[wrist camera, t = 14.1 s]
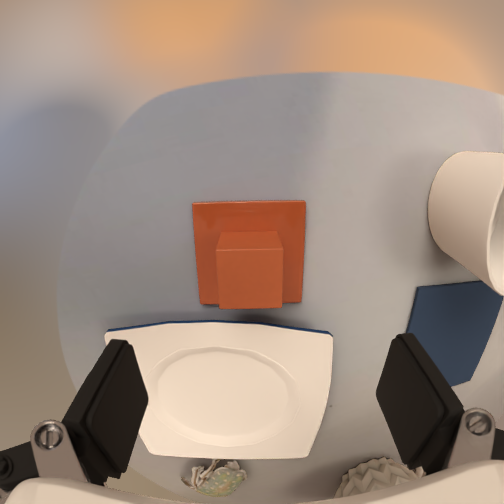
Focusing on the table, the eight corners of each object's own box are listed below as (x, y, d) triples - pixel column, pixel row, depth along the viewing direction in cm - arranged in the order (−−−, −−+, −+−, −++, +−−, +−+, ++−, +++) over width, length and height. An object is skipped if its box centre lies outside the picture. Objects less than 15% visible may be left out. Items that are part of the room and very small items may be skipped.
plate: (149, 440, 31) (145, 456, 28) (103, 306, 24) (91, 321, 21) (310, 443, 31) (313, 459, 28) (337, 306, 24) (346, 323, 22)
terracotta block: (220, 231, 21) (215, 249, 17) (277, 230, 21) (283, 248, 18) (223, 283, 23) (219, 309, 19) (276, 281, 23) (282, 308, 19)
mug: (405, 240, 22) (463, 280, 15) (444, 125, 19) (511, 126, 11) (490, 278, 24) (538, 313, 16) (522, 189, 21) (576, 207, 13)
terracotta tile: (193, 201, 21) (192, 203, 21) (304, 200, 21) (306, 201, 21) (201, 301, 24) (200, 304, 23) (300, 299, 24) (301, 302, 23)
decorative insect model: (159, 462, 31) (163, 493, 27) (233, 444, 32) (241, 476, 28) (189, 481, 35) (193, 507, 31) (253, 464, 36) (261, 491, 32)
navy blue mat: (417, 286, 24) (419, 288, 23) (507, 277, 24) (509, 278, 24) (382, 401, 29) (383, 403, 28) (468, 378, 29) (470, 380, 29)
